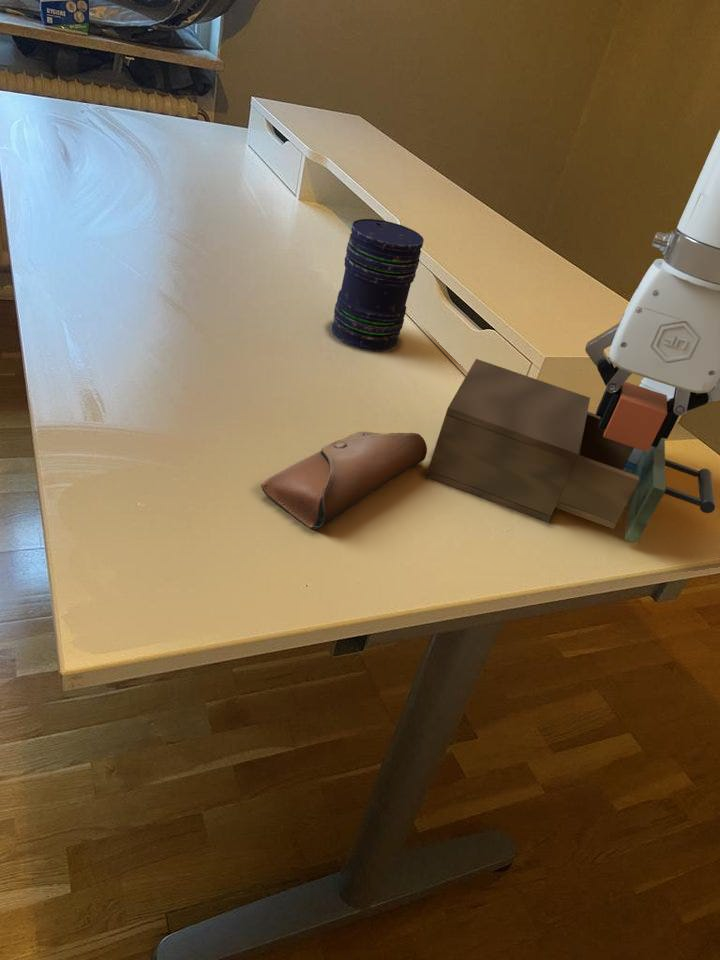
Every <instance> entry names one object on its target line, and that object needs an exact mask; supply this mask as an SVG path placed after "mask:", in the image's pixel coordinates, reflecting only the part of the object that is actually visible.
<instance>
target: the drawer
mask: <svg viewBox="0 0 720 960" xmlns="http://www.w3.org/2000/svg"><path fill="white" fill-rule="evenodd" d="M599 423H600V416H597V415H596V413H593V412H590V411H588V412H587V417H586V422H585V427H584V433H583V438H582V443H581V448H580V453H579V456H578V459H577V460H576V463H575V465H574V467H573V470H572V472H571V474H570V476H569V478H568V481H567V483H566V485H565V487H564V489H563V492H562V494H561V496H560V498H559V500H558V503H557V505H556V507H555V509H559V510H561V511H564V512H567V513H569V514H572V515H574V516H578V517H580V518H583V519H585V520H587V521H592V522H594V523H596V524H599V525H602V526H605V527H607V528H609V529H615V528H616V526H617V524H618V522H619V520H620V518H621V516H622V514H623V512H624V510H625V509H626V519H625V534H624V541H627V542H630V543H633V544H635V545H636V544H638V542H639V540H640V538H641V536H642V534H643V533H644V531H645V529H646V527H647V525H648V524H649V522H650V520H651V518H652V517H653V515H654V513H655V511H656V509H657V507H658V506H659V503H660V502H661V500H662V499H663V497H664V495H666V496H670V497H672V498H675V499H678V500H680V501H684V502H686V503H689V504H692V505H694V506H698V507H699V510H700V512H702V513H704V514H712V513H713V512H714V511H715V510H716V501H715V493H714V486H713V485H714V484H713V476H712V471H711V470H709V469H708V468H701V469H696V468H692V467H690V466H687V465H684V464H681V463H678V462H675V461H672V460H669V459H667V458H666V439H665V438H661V440H660V442H659V444H658V446H657V447H653V446H651V447H650V449H649V451H648V452H645V451H643V453H642V455H641V457H640V459H639V461H638V463H637V464H636V466H635V468H634V470H633V472H632V474H631V473H628V472H625V471H623V469H624V467H625V465H626V463H627V461H628V459H629V457H630V455H631V453H632V451H633V449H634V447H631V446H628V445H625V444H622V443H619V442H616V441H613V440H610V439H607V438H604V437H603V436H604V430H603V429H601V428H599ZM604 429H605V428H604ZM666 468H669V469H672V470H674V471H677V472H681V473H682V474H685V475H688V476H691V477H694V478H697V479H696V480H697V491H698V492H697V493H698V497H697V496H695V495H692V494H689V493H686V492H684V491H680V490H678V489H675V488H672V487H669V486H668V485H667V486H666Z"/></svg>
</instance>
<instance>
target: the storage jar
mask: <svg viewBox="0 0 720 960" xmlns="http://www.w3.org/2000/svg"><path fill="white" fill-rule="evenodd" d="M350 231H351V233H350V234H349V238H348V242H347V246H346V251H345V252H346V253H345V257H344V273H343V278H342V281H341V282H342V283H341V288H340V289H339V291H338V294H337V296H336V297H337V298H336V302H335V305H334V309H333V310H334V311H333V314H334V315H333V322H332V325H331V333H332V335H333V336H334V337H335V338H336V339H337V340H339V341H340V342H341V343H343V344H345V345H347V346H350V347H352V348H354V349H355V348H356V349H359V350H361V351H368V352H369V351H370V352H387V351H391V350H393V349H395V348H396V347H397V345H398V342H399V336H400V334H401V330H402V329H403V326H404V322H405V316H406V311H407V305H406V304H407V300H408V296H409V292H410V288H411V285H412V283H413V282H414V281H415V278H416V275H417V274H416V272H417V270H418V268H419V264H420V257H421V254H422V253H421V252H422V248H423V245H424V243H425V242H424V241H425V239H424V236H422V235H421V234H420V233H419V232H418V231H416V230H413V229H411V228H409V227H408V226H405V225H402V224H399V223H395V222H392V221H388V220H382V219H376V218H375V219H374V218H360V219H355V220H354V221H353V222H352V225H351V230H350Z"/></svg>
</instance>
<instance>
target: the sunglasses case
mask: <svg viewBox="0 0 720 960" xmlns="http://www.w3.org/2000/svg"><path fill="white" fill-rule="evenodd" d="M427 454H428V446H427V443H426V440H425V439H424V437H423V436H422V435H421V434H419V433H416V432H388V433H379V432H369V431H359V432H356V433H354V434H351V435H348V436H347V437H344V438H342V439H338V440H335V441H333V442H331V443H329V444H326V445H325V446H323V447H322V448H321V450H319V451H317V452H316V453H313V454H311V455H310V456H307V457H305V458H304V459H302V460H299V461H297V462H296V463H294V464H291V465H289V466H288V467H286V468H285V469H282V470H280V471H279V472H277V473H275V474H273V475H271V476H270V477H268V478H267V479H266V480H264V481H263V482H262V483H261V484H260V487H261V490H262V491H263V493H264V494H265V495H267V497H268V498H270V499H271V500H272V501H273V502H274V503H275V504H276V505H277V506H279V507H280V508H281V509H283V511H285V512H286V513H288V514H289V515H291V516H292V517H293V518H295V519H296V520H297V521H299V522H300V523H301V524H303V525H304V526H306V527H307V528H309V529H310V530H311V529H315V530H318V529H320V528H322V527H324V526H327V525H329V524H330V523H332V522H333V521H335V520H336V519H338V518H340V517H341V516H342V515H343V514H345V512H347V511H349V510H350V509H352V507H354V506H356V505H358V504H359V503H360V502H361V501H363V500H364V499H366V498H367V497H368V496H371V495H372V494H374V492H376V491H378V490H380V489H381V488H382V487H384V486H386V485H387V484H388V483H390V482H391V481H393V480H395V479H397V478H399V477H400V476H401V475H403V474H404V473H406V472H408V471H409V470H410V469H413V468H415V467H416V466H418V465H419V464H420V463H422V462H423V461H424V460H425V459H426V457H427Z"/></svg>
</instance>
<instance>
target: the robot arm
mask: <svg viewBox="0 0 720 960" xmlns="http://www.w3.org/2000/svg"><path fill="white" fill-rule="evenodd" d="M715 137H716V138H715V139H714V141H713V144H712V146H711V149H710V151H709V153H708V156H707V157H706V159H705V163H704V164H703V166H702V169H701V171H700V173H699V176H698V178H697V180H696V183H695V185H694V188H693V190H692V192H691V194H690V197H689V199H688V201H687V203H686V206H685V208H684V210H683V212H682V213H681V214H682V215H681V217H680V219H679V221H678V224H677V226H675V228H674V230H671V231H670V232H665V233H664V232H661V231H656V233H655V235H654V238H653V240H652V242H651V247H653V248H656V249H658V251H660V252H662V255H663V257H662V258H656V259H654V261H653V262H652V264H651V265H650V266H649V268H648V269H647V271H646V272H645V274H644V275H643V277H642V279H641V281H640V282H639V284H638V286H637V288H636V289H635V291H634V292H633V294H632V296H631V298H630V300H629V302H628V304H627V305H626V308H625V310H624V312H623V313H622V316H621V318H620V320H619V322H618V323H617V324H615V325H613V326H612V327H610V328H608V329H607V330H605V331H603V332H602V333H600V334H598V335H596V336H595V337H594V338H592V339H590V340H589V341H587V342H586V345H585V348H584V349H585V350H584V351H585V353H586V354H587V356H588V357H589V359H590V360H591V361H592V363H593V364H594V365H595V366H596V368H597V369H596V370H597V371H598V373H599V376H600V377H601V379H602V381H603V383H604V386H605V390H604V392H603V395H602V397H601V400H600V401H599V404H598V406H597V408H596V411H595V414H596V415H597V416H600V423H599V428H601V429H603V430H604V428H605V429H606V428H607V425H608V423H609V421H610V419H611V417H612V414H613V412H614V410H615V408H616V406H617V403H618V401H619V399H620V393H621V386H622V385H623V384H624V382H627V380H628V379H629V377H630V376H631V375H632V374H633V375H636V376H639V377H642V378H644V377H645V378H648V379H651V380H654V381H657V382H660V383H663V384H667V385H670V386H673V387H675V390H674V396H673V398H671V399H670V400H669V401H667V415H666V417H665V419H664V421H663V423H662V425H661V427H660V429H659V431H658V433H657V435H656V437H655V439H654V441H653V443H652V445H651V446H653V447H657V446H658V444H659V442H660V440H661V438H665V440H668V439H669V436H670V435H671V433H672V431H673V429H674V427H675V425H676V423H677V421H678V420H679V417H680V416H683V415H685V414H686V413H687V412H689V411H690V410H695V409H697V408H700V407H702V406H705V405H707V404H708V403H713V402H719V401H720V129H719V130H718V133H717V135H716V136H715ZM607 348H609V355H607V354H606V351H605V349H607Z"/></svg>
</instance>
